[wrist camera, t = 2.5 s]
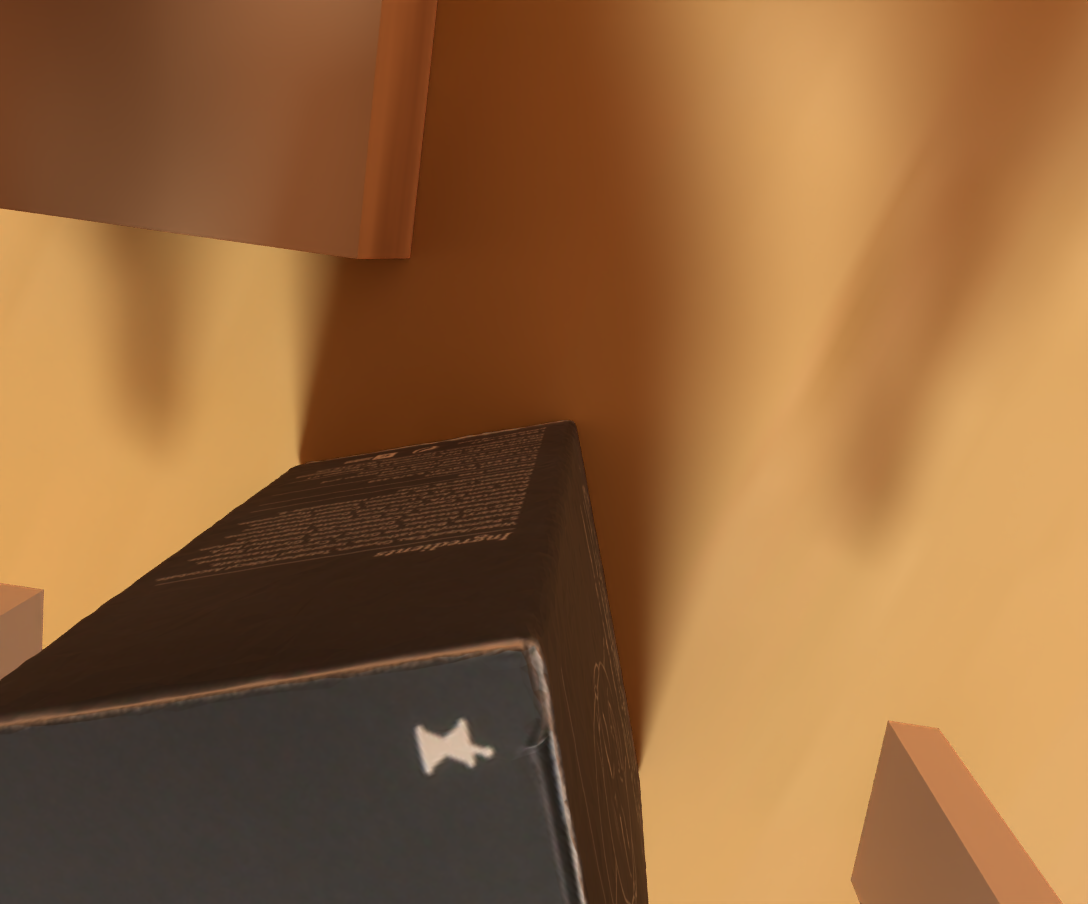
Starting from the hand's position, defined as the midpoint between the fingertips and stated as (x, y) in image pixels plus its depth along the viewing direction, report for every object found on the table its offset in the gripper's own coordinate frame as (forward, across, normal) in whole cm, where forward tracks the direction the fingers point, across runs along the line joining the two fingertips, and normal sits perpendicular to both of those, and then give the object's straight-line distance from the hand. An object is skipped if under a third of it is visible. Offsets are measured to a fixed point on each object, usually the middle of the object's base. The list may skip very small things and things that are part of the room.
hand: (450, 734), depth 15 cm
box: (+5, 0, 0) cm, 5 cm away
